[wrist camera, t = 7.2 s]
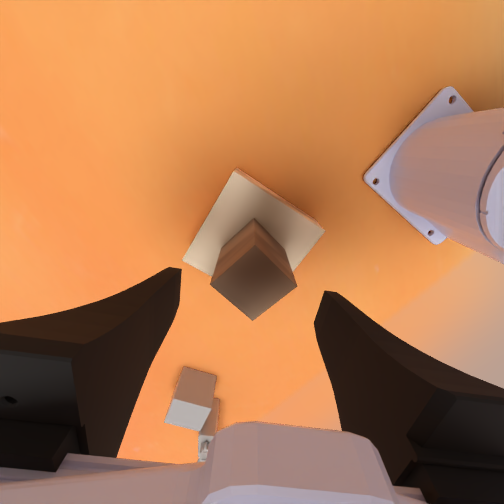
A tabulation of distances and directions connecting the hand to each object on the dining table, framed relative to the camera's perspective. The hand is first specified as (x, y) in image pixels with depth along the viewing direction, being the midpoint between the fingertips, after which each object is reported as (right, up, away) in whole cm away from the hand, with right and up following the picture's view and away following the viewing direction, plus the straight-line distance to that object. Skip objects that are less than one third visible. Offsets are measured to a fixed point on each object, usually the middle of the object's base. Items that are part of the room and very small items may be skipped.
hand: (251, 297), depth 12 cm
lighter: (-5, -19, +20) cm, 28 cm away
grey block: (-7, -13, +17) cm, 23 cm away
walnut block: (0, +2, +7) cm, 7 cm away
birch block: (0, +4, +10) cm, 11 cm away
